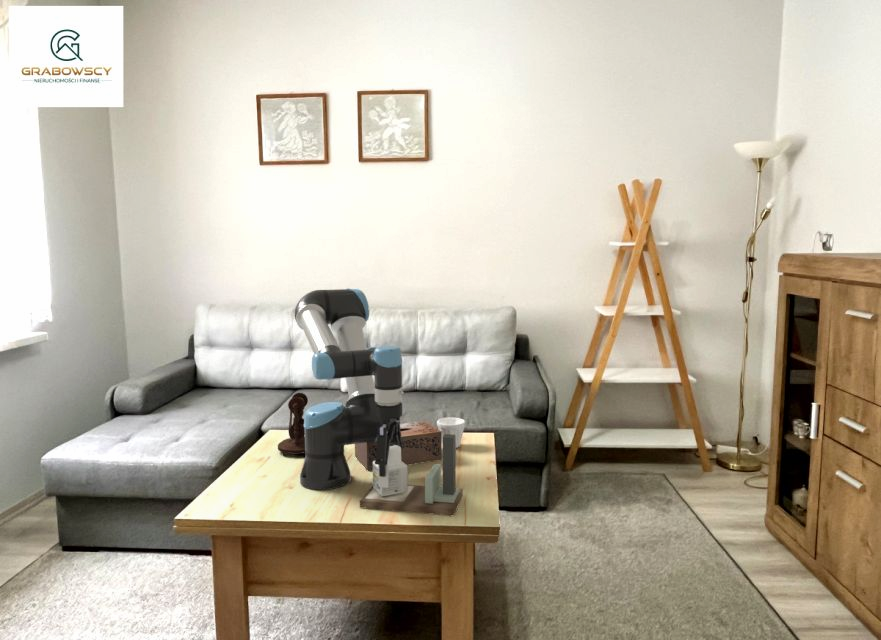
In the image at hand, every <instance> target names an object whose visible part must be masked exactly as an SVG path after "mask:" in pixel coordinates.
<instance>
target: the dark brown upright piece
mask: <svg viewBox="0 0 881 640" xmlns="http://www.w3.org/2000/svg"><path fill="white" fill-rule="evenodd" d="M308 402H309V401H308V396H307V395H306V393H304V392H295V394H293V396H292V397H291V398H290V400H289V401H288V403H287V407H288V410H289V421H288V422H289V423H288V436H289V438H286V439H283V440H282V441H280V442H279V443H277V450H278V451H279V452H280V453H281V455H282V456H283V457H284V456H285V454H292V455H293V454H295V455H296V454H305V430H304V418H303V416H304V415H305V412H304V409H305V407H306V406H307V405H308Z"/></svg>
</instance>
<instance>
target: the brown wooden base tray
mask: <svg viewBox="0 0 881 640" xmlns="http://www.w3.org/2000/svg"><path fill="white" fill-rule="evenodd" d="M458 488H459V493H458V495H457V497H456V499H455V501H454V503H447V502H435V501H434V502H433V503H432V504H431V503H425V485H420V484H408V491H407V492H403V493H398V494H392V495H387V496H381V495H380V494H379V492H378V491H377V490H376V489H375V488H374V487H373V485H371V487H370V488H369V489H368V490H367V491H366V493H365V494H363V496H362V497H361V498H360V499H359V508H360V507H366V508H365V509H370V508H375V509H374V510H382V509H384V510H385V511H393V510H394V511H393V512H395V511H396V512H405V513H406V512H407V513H417V514H428V513H433V514H432V515H440V514H444V515H443V516H451V515H453V516H454V515H455V513H456V510H457V509H458V507H457V506H459V505H458V504H460V502H461V500H462V498H463V497H464V496H463V495H464V493H463V491H464V489H463V488H461V487H458ZM456 508H457V509H456ZM384 510H383V511H384Z"/></svg>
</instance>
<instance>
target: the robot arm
mask: <svg viewBox="0 0 881 640" xmlns="http://www.w3.org/2000/svg"><path fill="white" fill-rule="evenodd" d="M369 307H370V306H369V301H368V299H367V297H366V294H365V293H364V292H363V291H362V290H360V289H358V288H345V289H343V288H342V289H337V288H336V289H316V290H312V291H309V292H308V293H306V294H304V295H303V296H302V297H301V298H300V299H299V300H298V302H297V303H296V306H295V309H294V320H295V322H296V325H297V326H298V328H299V329H301V330H303V333H304V334H305V337H306V339H307V341H308V343H309V346H310V348H311V350H312V352H313V355H312V358H311V371H312V374H313V377H314V378H315V379H316V380H327V381H329V380H337V379H345V381H346V389H347V393H348V394H347V395H348V399H347V400H346V401H345V405H344V404H343V403H342V402H340V401H328V402H326V401H325V402H321V403H319V404H317V403H316V404H315V405H313V406H311V407H309V408H307V410H305V412H304V415H303V416H304V418H303V419H304V430H305V453H304V455H305V457H304V460H303V464H302V467H301V471H300V475H299V481H300V482H299V483H300V485H301V486H303V487H304V488H307V489H310V488H311V489H310V490H331V488H332V489H337V488H340V487H342V486H345V485H347V484H348V483H350V481H351V470H350V467H349V464H348V462H347V461H348V460H347V458H346V456H345V446H349V445H355V444H358V443H366V442H376V441H377V448H376V461H375V464H377V465H378V477H379V487H384V488H388V487H389V464H387V462H388V455H389V447H390V443H396V444H399V445H400V446H401V450H403V446H402V438H401V429H400V424H401V420H400V419H401V417H402V416H403V402H402V401H403V395H404V393H405V392H404V391H403V375H402V374H403V357H402V349H401V348H400V347H398V346H394V345H382V346H377V347H376V346H370V347H367V343H366V339H365V333H364V327H365V326H366V324H367V322H368V320H369V318H370V310H369ZM329 325H330V326H329ZM333 332H334V334H337V339H336V337H335V336H334V334H333ZM337 341H338V342H337ZM336 487H337V488H336Z"/></svg>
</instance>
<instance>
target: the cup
mask: <svg viewBox="0 0 881 640" xmlns="http://www.w3.org/2000/svg"><path fill="white" fill-rule="evenodd" d="M436 425H437V429H439V430H440V431H442V447H443V436H444V435H445V434H451V435H456V449H459V448H458V447H461V443H462V438H463V434H464V430H465V426H466V421H465V419H463V418H459V417H442V418H439V419H437V420H436Z"/></svg>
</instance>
